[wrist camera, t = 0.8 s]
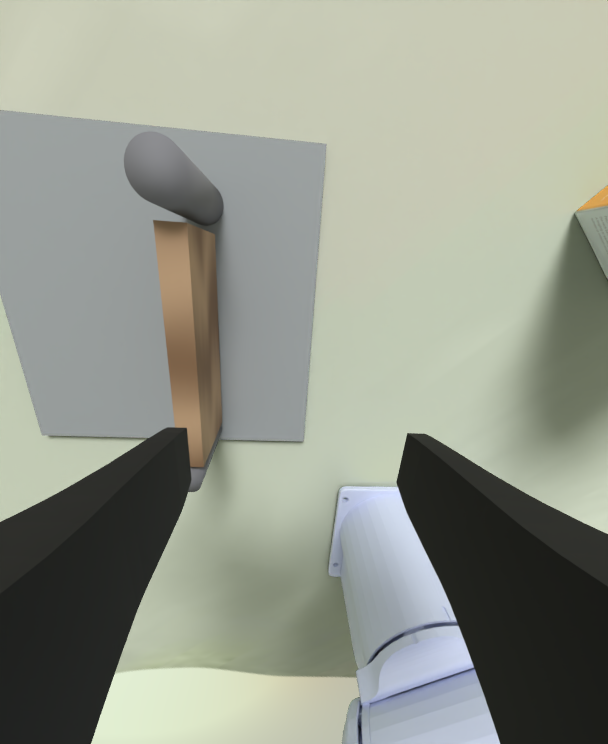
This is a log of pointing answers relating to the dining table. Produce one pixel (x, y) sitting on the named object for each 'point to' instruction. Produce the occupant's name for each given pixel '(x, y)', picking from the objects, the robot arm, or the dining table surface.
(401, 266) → the dining table surface
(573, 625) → the robot arm
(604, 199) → the small box
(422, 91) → the dining table surface
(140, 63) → the dining table surface
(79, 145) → the gate frame
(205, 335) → the board
